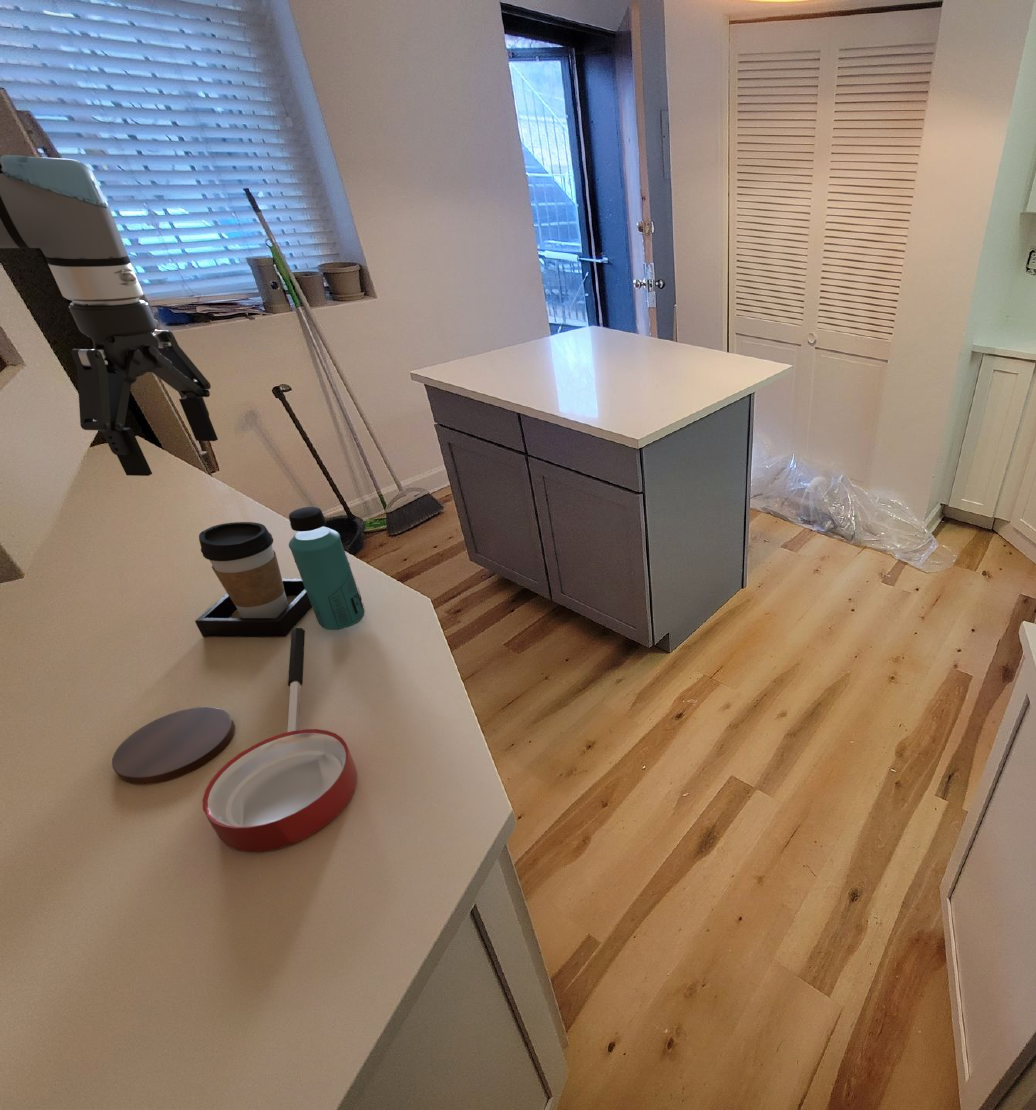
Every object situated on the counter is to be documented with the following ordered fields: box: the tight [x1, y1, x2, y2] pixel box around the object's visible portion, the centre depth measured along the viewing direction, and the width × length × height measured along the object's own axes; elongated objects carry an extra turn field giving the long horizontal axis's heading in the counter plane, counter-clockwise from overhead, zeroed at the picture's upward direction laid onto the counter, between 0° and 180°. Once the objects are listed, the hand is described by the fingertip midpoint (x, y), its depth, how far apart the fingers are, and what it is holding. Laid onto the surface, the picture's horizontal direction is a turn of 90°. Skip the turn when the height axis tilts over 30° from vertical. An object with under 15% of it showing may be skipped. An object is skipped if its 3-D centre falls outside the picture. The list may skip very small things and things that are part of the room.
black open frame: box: [194, 578, 313, 638], centre depth 95 cm, size 12×12×3 cm
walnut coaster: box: [111, 706, 236, 785], centre depth 73 cm, size 11×11×1 cm
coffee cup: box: [198, 521, 290, 618], centre depth 92 cm, size 8×8×15 cm
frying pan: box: [201, 627, 358, 853], centre depth 73 cm, size 32×13×6 cm, turn 33°
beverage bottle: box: [288, 506, 366, 631], centre depth 89 cm, size 6×7×20 cm
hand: (175, 456), depth 88 cm, fingers open, 13 cm apart
